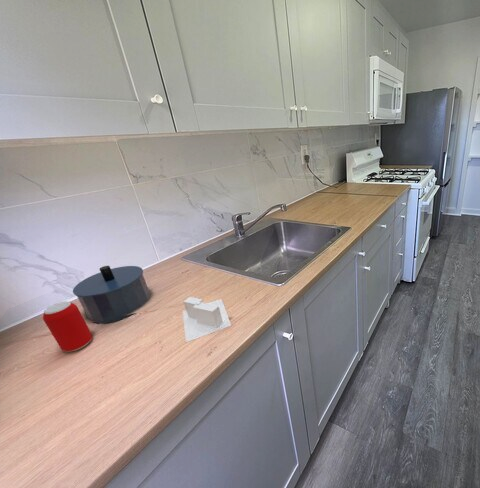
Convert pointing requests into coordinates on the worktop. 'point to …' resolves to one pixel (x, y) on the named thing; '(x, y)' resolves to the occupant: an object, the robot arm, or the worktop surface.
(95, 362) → the worktop surface
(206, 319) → the napkin holder
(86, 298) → the pot
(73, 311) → the beverage can
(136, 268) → the pot lid
